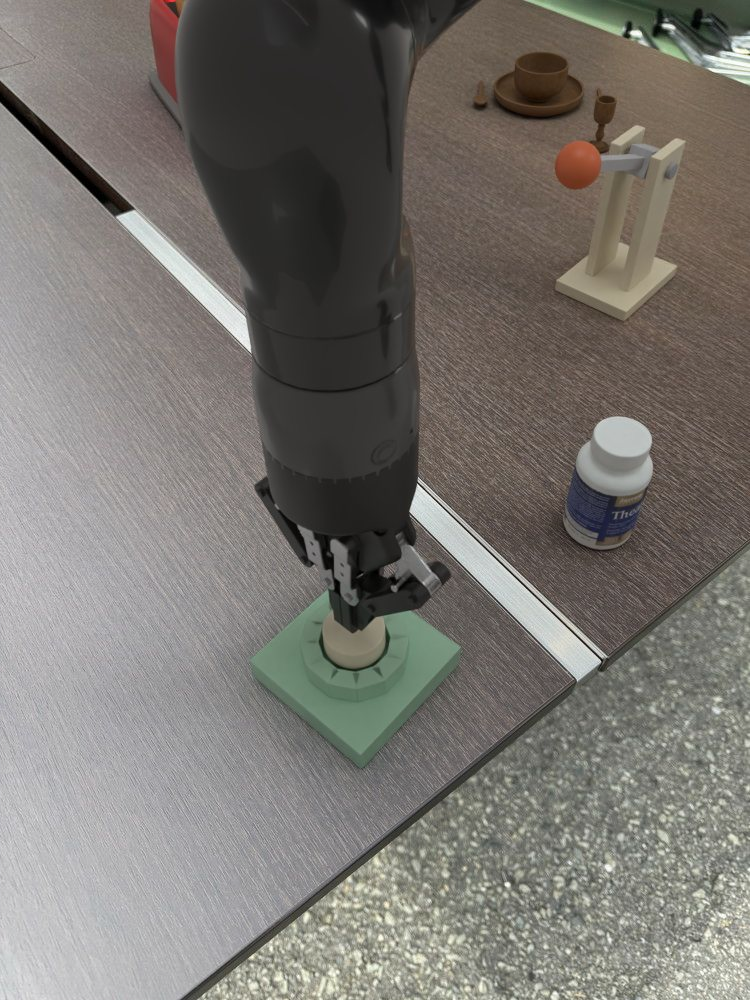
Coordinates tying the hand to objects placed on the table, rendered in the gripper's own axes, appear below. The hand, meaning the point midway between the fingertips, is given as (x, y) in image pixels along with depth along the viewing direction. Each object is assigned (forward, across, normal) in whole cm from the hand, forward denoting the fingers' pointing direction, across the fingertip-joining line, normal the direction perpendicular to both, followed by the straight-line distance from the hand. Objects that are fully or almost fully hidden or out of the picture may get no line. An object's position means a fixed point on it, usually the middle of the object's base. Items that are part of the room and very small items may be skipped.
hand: (354, 617), depth 52 cm
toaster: (+7, +68, -49) cm, 84 cm away
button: (+3, 0, 0) cm, 3 cm away
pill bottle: (+7, -5, -22) cm, 23 cm away
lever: (-7, +10, -43) cm, 45 cm away
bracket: (+7, +10, -50) cm, 51 cm away
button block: (+7, 0, 0) cm, 7 cm away
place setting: (+7, +37, -76) cm, 85 cm away
